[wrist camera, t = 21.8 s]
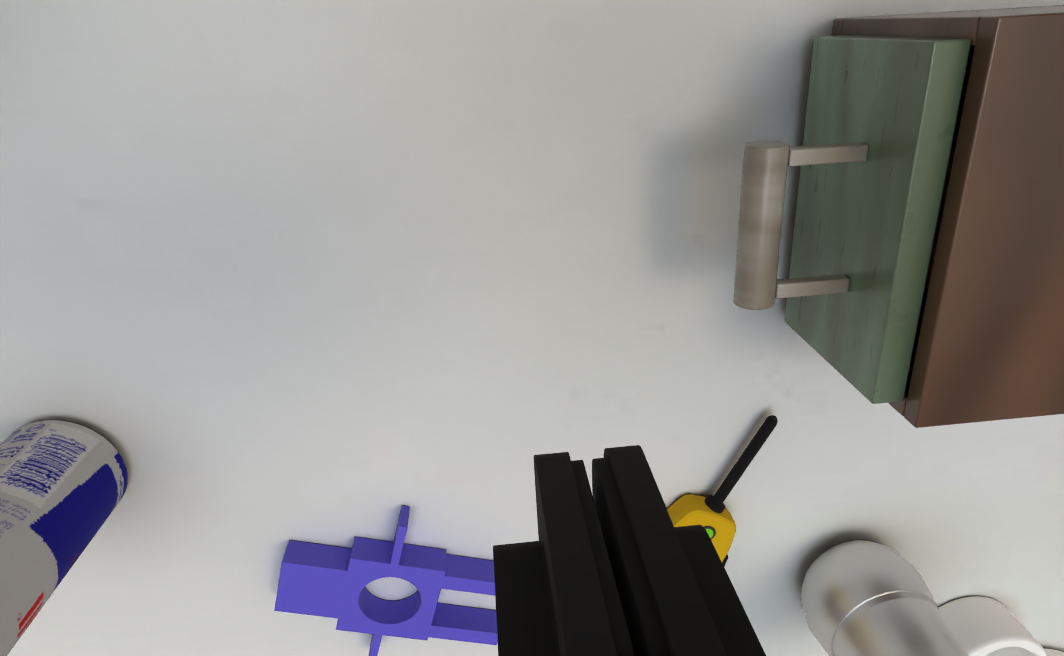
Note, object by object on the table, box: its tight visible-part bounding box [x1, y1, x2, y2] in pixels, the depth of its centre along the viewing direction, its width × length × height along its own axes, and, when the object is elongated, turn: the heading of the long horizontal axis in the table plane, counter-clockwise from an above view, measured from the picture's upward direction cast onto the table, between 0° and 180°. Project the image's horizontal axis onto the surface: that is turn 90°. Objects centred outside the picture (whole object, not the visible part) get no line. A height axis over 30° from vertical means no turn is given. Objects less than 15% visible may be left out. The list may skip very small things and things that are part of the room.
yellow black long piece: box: [667, 415, 777, 566], centre depth 37 cm, size 5×2×15 cm
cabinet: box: [833, 5, 1064, 428], centre depth 27 cm, size 15×14×10 cm
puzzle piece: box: [274, 506, 498, 656], centre depth 37 cm, size 10×12×2 cm
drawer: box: [733, 35, 975, 404], centre depth 27 cm, size 18×12×8 cm
